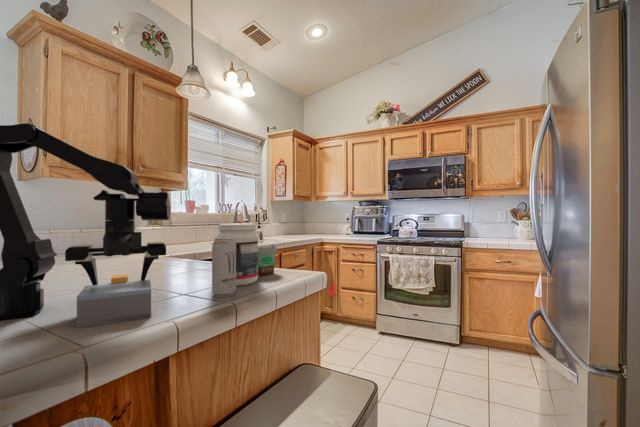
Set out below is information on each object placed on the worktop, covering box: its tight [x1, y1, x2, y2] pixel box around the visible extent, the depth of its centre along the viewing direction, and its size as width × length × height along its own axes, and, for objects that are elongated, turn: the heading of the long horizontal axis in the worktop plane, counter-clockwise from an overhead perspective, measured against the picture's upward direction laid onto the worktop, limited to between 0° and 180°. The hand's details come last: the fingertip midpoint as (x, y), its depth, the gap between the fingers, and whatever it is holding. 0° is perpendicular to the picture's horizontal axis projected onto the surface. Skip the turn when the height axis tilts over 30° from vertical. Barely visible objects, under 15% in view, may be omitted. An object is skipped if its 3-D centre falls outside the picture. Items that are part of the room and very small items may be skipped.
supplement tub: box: [215, 222, 259, 287], centre depth 94 cm, size 13×13×18 cm
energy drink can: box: [211, 237, 237, 298], centre depth 79 cm, size 6×6×15 cm
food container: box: [258, 244, 278, 277], centre depth 106 cm, size 12×6×10 cm, turn 143°
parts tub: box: [76, 292, 152, 329], centre depth 63 cm, size 12×10×5 cm
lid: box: [76, 273, 152, 302], centre depth 64 cm, size 12×14×3 cm
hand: (119, 288), depth 69 cm, fingers open, 8 cm apart
